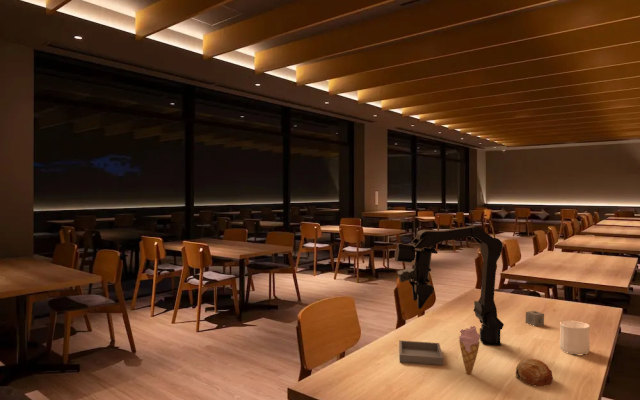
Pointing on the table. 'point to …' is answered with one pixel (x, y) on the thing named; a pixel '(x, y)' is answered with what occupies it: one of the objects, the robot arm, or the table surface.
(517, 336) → the table surface
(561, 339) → the cup
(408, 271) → the robot arm
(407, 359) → the tray
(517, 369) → the bread roll
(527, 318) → the dice cube
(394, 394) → the table surface
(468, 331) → the ice cream cone
